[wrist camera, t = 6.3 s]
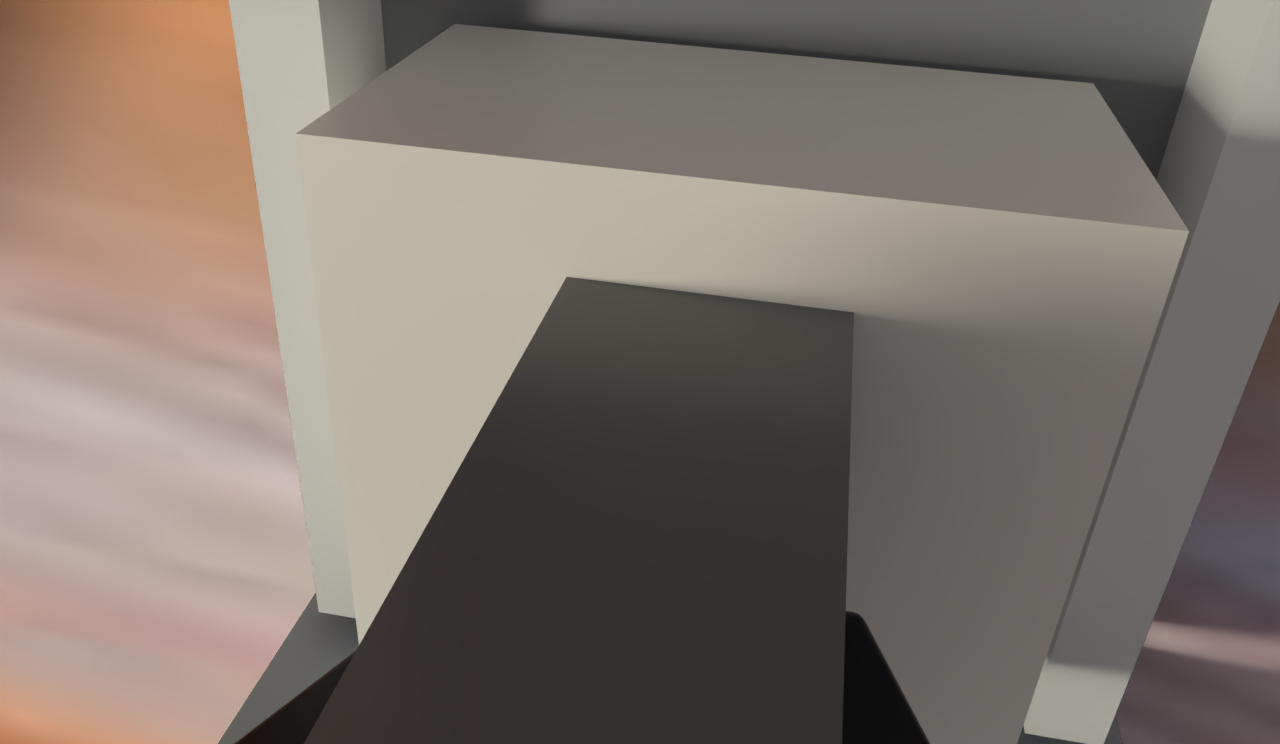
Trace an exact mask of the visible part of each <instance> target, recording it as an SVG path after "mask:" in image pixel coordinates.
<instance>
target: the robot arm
mask: <svg viewBox="0 0 1280 744" xmlns="http://www.w3.org/2000/svg"><path fill="white" fill-rule="evenodd" d="M355 652H356V650H355V651H354V652H353V653H351V654H350V655H349V656H347V657H346V658H345V659H344V660H342V661H341V662H340V663H338V664H337V665H336V666H334V667H333V668H332V669H330V670H329V671H328V672H327V673H325V674H324V675H323V676H321V677H320V678H319V679H317V680H316V681H315V682H313V683H312V684H311V685H310V686H308V687H307V688H306V689H304V690H303V691H302V692H300V693H299V694H298V695H296V696H295V697H294V698H293V699H291V700H290V701H289V702H287V703H286V704H285V705H283V706H282V707H281V708H280V709H278V710H277V711H276V712H274V713H273V714H272V715H270V716H269V717H268V718H266V719H265V720H264V721H263V722H261V723H260V724H259V725H257V726H256V727H255V728H253V729H252V730H251V731H249V732H248V733H247V734H246V735H244V736H243V737H242V738H240V739H239V740H238V741H236V742H235V743H234V744H304V742H305V741H306V739H307V737H308V735H309V733H310V732H311V730H312V728H313V726H314V725H315V723H316V721H317V719H318V717H319V716H320V714H321V712H322V710H323V709H324V707H325V705H326V703H327V702H328V700H329V698H330V696H331V694H332V693H333V691H334V689H335V687H336V686H337V684H338V682H339V680H340V678H341V677H342V675H343V673H344V671H345V670H346V668H347V666H348V664H349V662H350V661H351V659H352V657H353V655H354V654H355ZM842 744H930V743H929V741H928V739H927V737H926V735H925V733H924V731H923V729H922V727H921V726H920V724H919V722H918V720H917V718H916V716H915V714H914V712H913V710H912V709H911V707H910V705H909V703H908V701H907V699H906V697H905V695H904V693H903V692H902V690H901V688H900V686H899V684H898V682H897V680H896V678H895V676H894V675H893V673H892V671H891V669H890V667H889V665H888V663H887V661H886V660H885V658H884V656H883V654H882V652H881V650H880V648H879V646H878V644H877V643H876V641H875V639H874V637H873V635H872V633H871V631H870V629H869V627H868V626H867V624H866V622H865V620H864V619H863V617H862V616H861V615H859V614H858V613H855V612H851V611H846V618H845V654H844V690H843V727H842Z"/></svg>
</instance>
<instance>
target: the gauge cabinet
mask: <svg viewBox="0 0 1280 744" xmlns="http://www.w3.org/2000/svg"><path fill="white" fill-rule="evenodd" d="M358 646H359V642H358V633H357V625H356V618H351V617H345V616H340V615H334V614H328V613H322V612H319V610H318V603H317V597H316V593H315V595H314V596H313V598H312V599H311V601H310V602H309V604H308V606H307V607H306V609H305V610H304V612H303V613H302V615H301V616H300V618H299V619H298V621H297V622H296V624H295V626H294V627H293V629H292V630H291V632H290V633H289V635H288V636H287V638H286V639H285V641H284V643H283V644H282V646H281V647H280V649H279V650H278V652H277V653H276V655H275V656H274V658H273V660H272V661H271V663H270V664H269V666H268V667H267V669H266V670H265V672H264V673H263V675H262V676H261V678H260V680H259V681H258V683H257V684H256V686H255V687H254V689H253V690H252V692H251V693H250V695H249V697H248V698H247V700H246V701H245V703H244V704H243V706H242V707H241V709H240V710H239V712H238V713H237V715H236V717H235V718H234V720H233V721H232V723H231V724H230V726H229V727H228V729H227V730H226V732H225V734H224V735H223V737H222V738H221V740H220V741H219V743H218V744H234V743H235V742H236V741H238V740H239V739H240V738H242V737H243V736H244V735H246V734H247V733H248V732H249V731H251V730H252V729H253V728H255V727H256V726H257V725H259V724H260V723H261V722H263V721H264V720H265V719H266V718H268V717H269V716H270V715H272V714H273V713H274V712H276V711H277V710H278V709H280V708H281V707H282V706H283V705H285V704H286V703H287V702H289V701H290V700H291V699H293V698H294V697H295V696H296V695H298V694H299V693H300V692H302V691H303V690H304V689H306V688H307V687H308V686H310V685H311V684H312V683H313V682H315V681H316V680H317V679H319V678H320V677H321V676H323V675H324V674H325V673H327V672H328V671H329V670H330V669H332V668H333V667H334V666H336V665H337V664H338V663H340V662H341V661H342V660H344V659H345V658H346V657H347V656H349V655H350V654H351V653H353V652H354V651H355V650H357V648H358ZM1017 744H1085V743H1079V742H1073V741H1067V740H1062V739H1056V738H1050V737H1044V736H1038V735H1032V734H1027V733H1025V731H1024V725H1023V728H1022V731H1021V734H1020V737H1019V740H1018V743H1017ZM1104 744H1123V743H1122V739H1121V735H1120V731H1119V727H1118V723H1117V719H1116V715H1115V717H1114V719H1113V722H1112V724H1111V727H1110V729H1109V732H1108V734H1107V737H1106V739H1105V742H1104Z"/></svg>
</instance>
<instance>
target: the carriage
mask: <svg viewBox="0 0 1280 744" xmlns="http://www.w3.org/2000/svg"><path fill="white" fill-rule="evenodd" d="M296 140H297V148H298V156H299V164H300V172H301V180H302V188H303V196H304V204H305V213H306V221H307V229H308V237H309V245H310V253H311V261H312V269H313V277H314V285H315V293H316V302H317V310H318V318H319V326H320V334H321V342H322V350H323V358H324V366H325V374H326V383H327V391H328V399H329V407H330V415H331V423H332V431H333V439H334V447H335V455H336V463H337V472H338V480H339V488H340V496H341V504H342V512H343V520H344V528H345V536H346V544H347V552H348V561H349V569H350V577H351V585H352V593H353V601H354V609H355V617H356V625H357V633H358V642H359V646H358V648H357V650H356V652H355V654H354V655H353V657H352V659H351V661H350V662H349V664H348V666H347V668H346V670H345V671H344V673H343V675H342V677H341V678H340V680H339V682H338V684H337V686H336V687H335V689H334V691H333V693H332V694H331V696H330V698H329V700H328V702H327V703H326V705H325V707H324V709H323V710H322V712H321V714H320V716H319V717H318V719H317V721H316V723H315V725H314V726H313V728H312V730H311V732H310V733H309V735H308V737H307V739H306V741H305V742H304V744H842V727H843V690H844V654H845V618H846V611H851V612H855V613H858V614H859V615H861V616H862V617H863V619H864V620H865V622H866V624H867V626H868V627H869V629H870V631H871V633H872V635H873V637H874V639H875V641H876V643H877V644H878V646H879V648H880V650H881V652H882V654H883V656H884V658H885V660H886V661H887V663H888V665H889V667H890V669H891V671H892V673H893V675H894V676H895V678H896V680H897V682H898V684H899V686H900V688H901V690H902V692H903V693H904V695H905V697H906V699H907V701H908V703H909V705H910V707H911V709H912V710H913V712H914V714H915V716H916V718H917V720H918V722H919V724H920V726H921V727H922V729H923V731H924V733H925V735H926V737H927V739H928V741H929V743H930V744H1017V743H1018V740H1019V737H1020V734H1021V731H1022V728H1023V725H1024V722H1025V719H1026V716H1027V713H1028V710H1029V707H1030V704H1031V701H1032V698H1033V695H1034V692H1035V689H1036V686H1037V683H1038V680H1039V677H1040V674H1041V671H1042V668H1043V665H1044V662H1045V659H1046V656H1047V653H1048V650H1049V647H1050V644H1051V641H1052V638H1053V635H1054V632H1055V629H1056V626H1057V624H1058V621H1059V618H1060V615H1061V612H1062V609H1063V606H1064V603H1065V600H1066V597H1067V594H1068V591H1069V588H1070V585H1071V582H1072V579H1073V576H1074V573H1075V570H1076V567H1077V564H1078V561H1079V558H1080V555H1081V552H1082V549H1083V546H1084V543H1085V540H1086V537H1087V534H1088V531H1089V528H1090V525H1091V522H1092V519H1093V516H1094V513H1095V510H1096V507H1097V504H1098V501H1099V498H1100V495H1101V492H1102V489H1103V487H1104V484H1105V481H1106V478H1107V475H1108V472H1109V469H1110V466H1111V463H1112V460H1113V457H1114V454H1115V451H1116V448H1117V445H1118V442H1119V439H1120V436H1121V433H1122V430H1123V427H1124V424H1125V421H1126V418H1127V415H1128V412H1129V409H1130V406H1131V403H1132V400H1133V397H1134V394H1135V391H1136V388H1137V385H1138V382H1139V379H1140V376H1141V373H1142V370H1143V367H1144V364H1145V361H1146V358H1147V355H1148V352H1149V350H1150V347H1151V344H1152V341H1153V338H1154V335H1155V332H1156V329H1157V326H1158V323H1159V320H1160V317H1161V314H1162V311H1163V308H1164V305H1165V302H1166V299H1167V296H1168V293H1169V290H1170V287H1171V284H1172V281H1173V278H1174V275H1175V272H1176V269H1177V266H1178V263H1179V260H1180V257H1181V254H1182V251H1183V248H1184V245H1185V242H1186V239H1187V236H1188V233H1189V230H1188V229H1187V227H1186V226H1185V224H1184V223H1183V221H1182V219H1181V218H1180V216H1179V215H1178V213H1177V212H1176V210H1175V209H1174V207H1173V206H1172V204H1171V202H1170V201H1169V199H1168V198H1167V196H1166V195H1165V193H1164V192H1163V190H1162V189H1161V187H1160V186H1159V184H1158V182H1157V181H1156V179H1155V178H1154V176H1153V175H1152V173H1151V172H1150V170H1149V169H1148V167H1147V165H1146V164H1145V162H1144V161H1143V159H1142V158H1141V156H1140V155H1139V153H1138V152H1137V150H1136V148H1135V147H1134V145H1133V144H1132V142H1131V141H1130V139H1129V138H1128V136H1127V135H1126V133H1125V131H1124V130H1123V128H1122V127H1121V125H1120V124H1119V122H1118V121H1117V119H1116V118H1115V116H1114V114H1113V113H1112V111H1111V110H1110V108H1109V107H1108V105H1107V104H1106V102H1105V101H1104V99H1103V98H1102V96H1101V94H1100V93H1099V91H1098V90H1097V88H1096V87H1095V85H1094V84H1093V83H1085V82H1074V81H1063V80H1053V79H1042V78H1031V77H1020V76H1010V75H999V74H988V73H978V72H967V71H956V70H945V69H935V68H924V67H913V66H902V65H892V64H881V63H870V62H859V61H849V60H838V59H827V58H816V57H806V56H795V55H784V54H773V53H763V52H752V51H741V50H730V49H720V48H709V47H698V46H687V45H677V44H666V43H655V42H645V41H634V40H623V39H612V38H602V37H591V36H580V35H569V34H559V33H548V32H537V31H526V30H516V29H505V28H494V27H483V26H473V25H462V24H454V25H453V26H451V27H450V28H448V29H447V30H445V31H444V32H442V33H441V34H440V35H438V36H437V37H435V38H434V39H432V40H431V41H429V42H428V43H426V44H425V45H424V46H422V47H421V48H419V49H418V50H416V51H415V52H413V53H412V54H410V55H409V56H408V57H406V58H405V59H403V60H402V61H400V62H399V63H397V64H396V65H395V66H393V67H392V68H390V69H389V70H387V71H386V72H384V73H383V74H381V75H380V76H379V77H377V78H376V79H374V80H373V81H371V82H370V83H368V84H367V85H365V86H364V87H363V88H361V89H360V90H358V91H357V92H355V93H354V94H352V95H351V96H350V97H348V98H347V99H345V100H344V101H342V102H341V103H339V104H338V105H336V106H335V107H334V108H332V109H331V110H329V111H328V112H326V113H325V114H323V115H322V116H320V117H319V118H318V119H316V120H315V121H313V122H312V123H310V124H309V125H307V126H306V127H305V128H303V129H302V130H300V131H299V132H297V133H296Z"/></svg>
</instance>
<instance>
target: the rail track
mask: <svg viewBox="0 0 1280 744" xmlns="http://www.w3.org/2000/svg"><path fill="white" fill-rule="evenodd" d="M229 5H230V11H231V18H232V25H233V32H234V39H235V45H236V52H237V59H238V66H239V73H240V79H241V86H242V93H243V100H244V107H245V114H246V120H247V127H248V134H249V141H250V148H251V154H252V161H253V168H254V175H255V182H256V188H257V195H258V202H259V209H260V216H261V222H262V229H263V236H264V243H265V250H266V256H267V263H268V270H269V277H270V284H271V290H272V297H273V304H274V311H275V318H276V324H277V331H278V338H279V345H280V352H281V358H282V365H283V372H284V379H285V386H286V392H287V399H288V406H289V413H290V420H291V426H292V433H293V440H294V447H295V454H296V460H297V467H298V474H299V481H300V488H301V494H302V501H303V508H304V515H305V522H306V529H307V535H308V542H309V549H310V556H311V563H312V569H313V576H314V583H315V590H316V597H317V603H318V610H319V612H322V613H328V614H334V615H340V616H345V617H351V618H356V617H355V609H354V601H353V593H352V585H351V577H350V569H349V561H348V552H347V544H346V536H345V528H344V520H343V512H342V504H341V496H340V488H339V480H338V472H337V463H336V455H335V447H334V439H333V431H332V423H331V415H330V407H329V399H328V391H327V383H326V374H325V366H324V358H323V350H322V342H321V334H320V326H319V318H318V310H317V302H316V293H315V285H314V277H313V269H312V261H311V253H310V245H309V237H308V229H307V221H306V213H305V204H304V196H303V188H302V180H301V172H300V164H299V156H298V148H297V140H296V133H297V132H299V131H300V130H302V129H303V128H305V127H306V126H307V125H309V124H310V123H312V122H313V121H315V120H316V119H318V118H319V117H320V116H322V115H323V114H325V113H326V112H328V111H329V110H331V109H332V108H334V107H335V106H336V105H338V104H339V103H341V102H342V101H344V100H345V99H347V98H348V97H350V96H351V95H352V94H354V93H355V92H357V91H358V90H360V89H361V88H363V87H364V86H365V85H367V84H368V83H370V82H371V81H373V80H374V79H376V78H377V77H379V76H380V75H381V74H383V73H384V72H386V71H387V70H389V69H390V68H392V67H393V66H395V65H396V64H397V63H399V62H400V61H402V60H403V59H405V58H406V57H408V56H409V55H410V54H412V53H413V52H415V51H416V50H418V49H419V48H421V47H422V46H424V45H425V44H426V43H428V42H429V41H431V40H432V39H434V38H435V37H437V36H438V35H440V34H441V33H442V32H444V31H445V30H447V29H448V28H450V27H451V26H453V25H454V24H462V25H473V26H483V27H494V28H505V29H516V30H526V31H537V32H548V33H559V34H569V35H580V36H591V37H602V38H612V39H623V40H634V41H645V42H655V43H666V44H677V45H687V46H698V47H709V48H720V49H730V50H741V51H752V52H763V53H773V54H784V55H795V56H806V57H816V58H827V59H838V60H849V61H859V62H870V63H881V64H892V65H902V66H913V67H924V68H935V69H945V70H956V71H967V72H978V73H988V74H999V75H1010V76H1020V77H1031V78H1042V79H1053V80H1063V81H1074V82H1085V83H1093V84H1094V85H1095V87H1096V88H1097V90H1098V91H1099V93H1100V94H1101V96H1102V98H1103V99H1104V101H1105V102H1106V104H1107V105H1108V107H1109V108H1110V110H1111V111H1112V113H1113V114H1114V116H1115V118H1116V119H1117V121H1118V122H1119V124H1120V125H1121V127H1122V128H1123V130H1124V131H1125V133H1126V135H1127V136H1128V138H1129V139H1130V141H1131V142H1132V144H1133V145H1134V147H1135V148H1136V150H1137V152H1138V153H1139V155H1140V156H1141V158H1142V159H1143V161H1144V162H1145V164H1146V165H1147V167H1148V169H1149V170H1150V172H1151V173H1152V175H1153V176H1154V178H1155V179H1156V181H1157V182H1158V184H1159V186H1160V187H1161V189H1162V190H1163V192H1164V193H1165V195H1166V196H1167V198H1168V199H1169V201H1170V202H1171V204H1172V206H1173V207H1174V209H1175V210H1176V212H1177V213H1178V215H1179V216H1180V218H1181V219H1182V221H1183V223H1184V224H1185V226H1186V227H1187V229H1188V230H1189V233H1188V236H1187V239H1186V242H1185V245H1184V248H1183V251H1182V254H1181V257H1180V260H1179V263H1178V266H1177V269H1176V272H1175V275H1174V278H1173V281H1172V284H1171V287H1170V290H1169V293H1168V296H1167V299H1166V302H1165V305H1164V308H1163V311H1162V314H1161V317H1160V320H1159V323H1158V326H1157V329H1156V332H1155V335H1154V338H1153V341H1152V344H1151V347H1150V350H1149V352H1148V355H1147V358H1146V361H1145V364H1144V367H1143V370H1142V373H1141V376H1140V379H1139V382H1138V385H1137V388H1136V391H1135V394H1134V397H1133V400H1132V403H1131V406H1130V409H1129V412H1128V415H1127V418H1126V421H1125V424H1124V427H1123V430H1122V433H1121V436H1120V439H1119V442H1118V445H1117V448H1116V451H1115V454H1114V457H1113V460H1112V463H1111V466H1110V469H1109V472H1108V475H1107V478H1106V481H1105V484H1104V487H1103V489H1102V492H1101V495H1100V498H1099V501H1098V504H1097V507H1096V510H1095V513H1094V516H1093V519H1092V522H1091V525H1090V528H1089V531H1088V534H1087V537H1086V540H1085V543H1084V546H1083V549H1082V552H1081V555H1080V558H1079V561H1078V564H1077V567H1076V570H1075V573H1074V576H1073V579H1072V582H1071V585H1070V588H1069V591H1068V594H1067V597H1066V600H1065V603H1064V606H1063V609H1062V612H1061V615H1060V618H1059V621H1058V624H1057V626H1056V629H1055V632H1054V635H1053V638H1052V641H1051V644H1050V647H1049V650H1048V653H1047V656H1046V659H1045V662H1044V665H1043V668H1042V671H1041V674H1040V677H1039V680H1038V683H1037V686H1036V689H1035V692H1034V695H1033V698H1032V701H1031V704H1030V707H1029V710H1028V713H1027V716H1026V719H1025V722H1024V731H1025V733H1027V734H1032V735H1038V736H1044V737H1050V738H1056V739H1062V740H1067V741H1073V742H1079V743H1085V744H1104V742H1105V739H1106V737H1107V734H1108V732H1109V729H1110V727H1111V724H1112V722H1113V719H1114V717H1115V714H1116V712H1117V709H1118V707H1119V704H1120V702H1121V699H1122V696H1123V694H1124V691H1125V689H1126V686H1127V684H1128V681H1129V679H1130V676H1131V674H1132V671H1133V669H1134V666H1135V664H1136V661H1137V659H1138V656H1139V654H1140V651H1141V649H1142V646H1143V644H1144V641H1145V639H1146V636H1147V634H1148V631H1149V629H1150V626H1151V623H1152V621H1153V618H1154V616H1155V613H1156V611H1157V608H1158V606H1159V603H1160V601H1161V598H1162V596H1163V593H1164V591H1165V588H1166V586H1167V583H1168V581H1169V578H1170V576H1171V573H1172V571H1173V568H1174V566H1175V563H1176V561H1177V558H1178V556H1179V553H1180V551H1181V548H1182V545H1183V543H1184V540H1185V538H1186V535H1187V533H1188V530H1189V528H1190V525H1191V523H1192V520H1193V518H1194V515H1195V513H1196V510H1197V508H1198V505H1199V503H1200V500H1201V498H1202V495H1203V493H1204V490H1205V488H1206V485H1207V483H1208V480H1209V478H1210V475H1211V472H1212V470H1213V467H1214V465H1215V462H1216V460H1217V457H1218V455H1219V452H1220V450H1221V447H1222V445H1223V442H1224V440H1225V437H1226V435H1227V432H1228V430H1229V427H1230V425H1231V422H1232V420H1233V417H1234V415H1235V412H1236V410H1237V407H1238V405H1239V402H1240V399H1241V397H1242V394H1243V392H1244V389H1245V387H1246V384H1247V382H1248V379H1249V377H1250V374H1251V372H1252V369H1253V367H1254V364H1255V362H1256V359H1257V357H1258V354H1259V352H1260V349H1261V347H1262V344H1263V342H1264V339H1265V337H1266V334H1267V332H1268V329H1269V327H1270V324H1271V321H1272V319H1273V316H1274V314H1275V311H1276V309H1277V306H1278V304H1279V301H1280V0H229Z"/></svg>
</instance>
